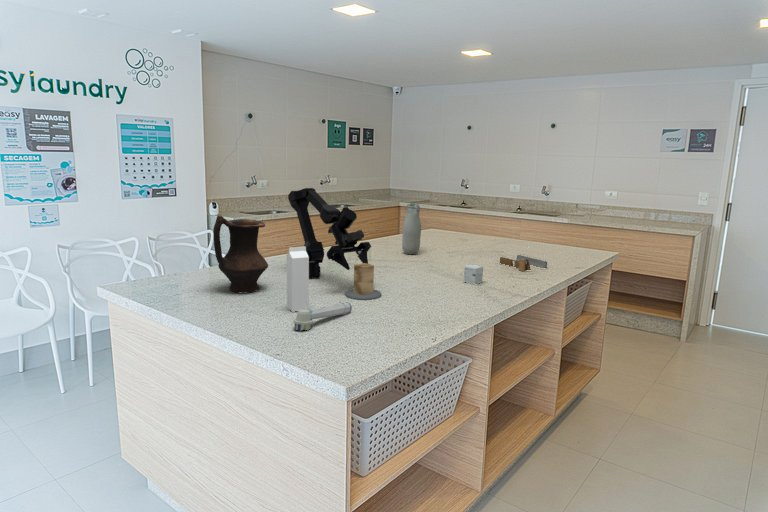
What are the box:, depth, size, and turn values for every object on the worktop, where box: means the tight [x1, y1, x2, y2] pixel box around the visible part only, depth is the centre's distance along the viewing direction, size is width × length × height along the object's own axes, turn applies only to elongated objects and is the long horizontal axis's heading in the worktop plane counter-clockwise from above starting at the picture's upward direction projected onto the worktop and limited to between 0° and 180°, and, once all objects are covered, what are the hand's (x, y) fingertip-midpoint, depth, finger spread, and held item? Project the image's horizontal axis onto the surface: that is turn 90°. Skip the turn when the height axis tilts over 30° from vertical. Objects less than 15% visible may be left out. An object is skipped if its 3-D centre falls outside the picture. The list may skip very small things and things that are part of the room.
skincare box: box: [463, 264, 484, 285], centre depth 222 cm, size 6×6×7 cm
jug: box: [212, 214, 269, 293], centre depth 197 cm, size 21×18×30 cm
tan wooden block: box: [353, 262, 375, 296], centre depth 197 cm, size 5×5×11 cm
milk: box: [285, 245, 310, 313], centre depth 176 cm, size 6×6×22 cm
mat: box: [344, 288, 382, 301], centre depth 198 cm, size 14×14×1 cm
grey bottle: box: [401, 202, 422, 255], centre depth 280 cm, size 10×10×28 cm
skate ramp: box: [499, 253, 548, 272], centre depth 256 cm, size 29×35×8 cm
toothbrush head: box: [292, 301, 353, 332], centre depth 166 cm, size 5×7×25 cm
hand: (358, 267), depth 199 cm, fingers open, 9 cm apart
